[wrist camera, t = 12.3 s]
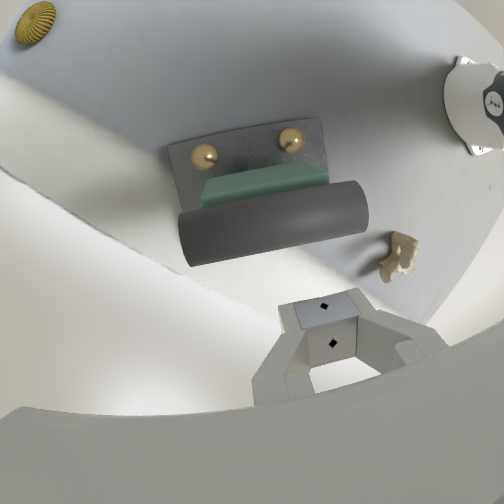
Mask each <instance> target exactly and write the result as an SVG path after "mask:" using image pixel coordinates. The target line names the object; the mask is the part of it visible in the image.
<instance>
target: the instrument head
mask: <svg viewBox="0 0 504 504" xmlns="http://www.w3.org/2000/svg"><path fill="white" fill-rule="evenodd" d="M201 200H202V204H203V208H202V209H197V210H193V211H189V212H184V213H180V215H179V219H178V228H179V236H180V242H181V246H182V250H183V253H184V256H185V258H186V261H187V263H188V264H189V266H190V267H194V266H199V265H204V264H209V263H214V262H219V261H224V260H229V259H234V258H239V257H244V256H249V255H254V254H259V253H264V252H269V251H274V250H278V249H283V248H288V247H293V246H298V245H303V244H308V243H313V242H318V241H323V240H328V239H333V238H338V237H342V236H347V235H352V234H357V233H362V232H365V231H366V229H367V226H368V221H369V212H368V205H367V200H366V197H365V194H364V192H363V190H362V188H361V186H360V185H359V183H358V182H356V181H346V182H340V183H333V184H329V181H328V173H327V172H325V171H323V170H321V169H319V168H316V167H314V166H312V165H310V164H308V163H306V162H304V161H301V162H295V163H289V164H283V165H277V166H271V167H265V168H260V169H255V170H249V171H244V172H239V173H234V174H230V175H225V176H220V177H216V178H211V179H208V180H207V183H206V185H205V187H204V190H203V192H202V195H201Z"/></svg>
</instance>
